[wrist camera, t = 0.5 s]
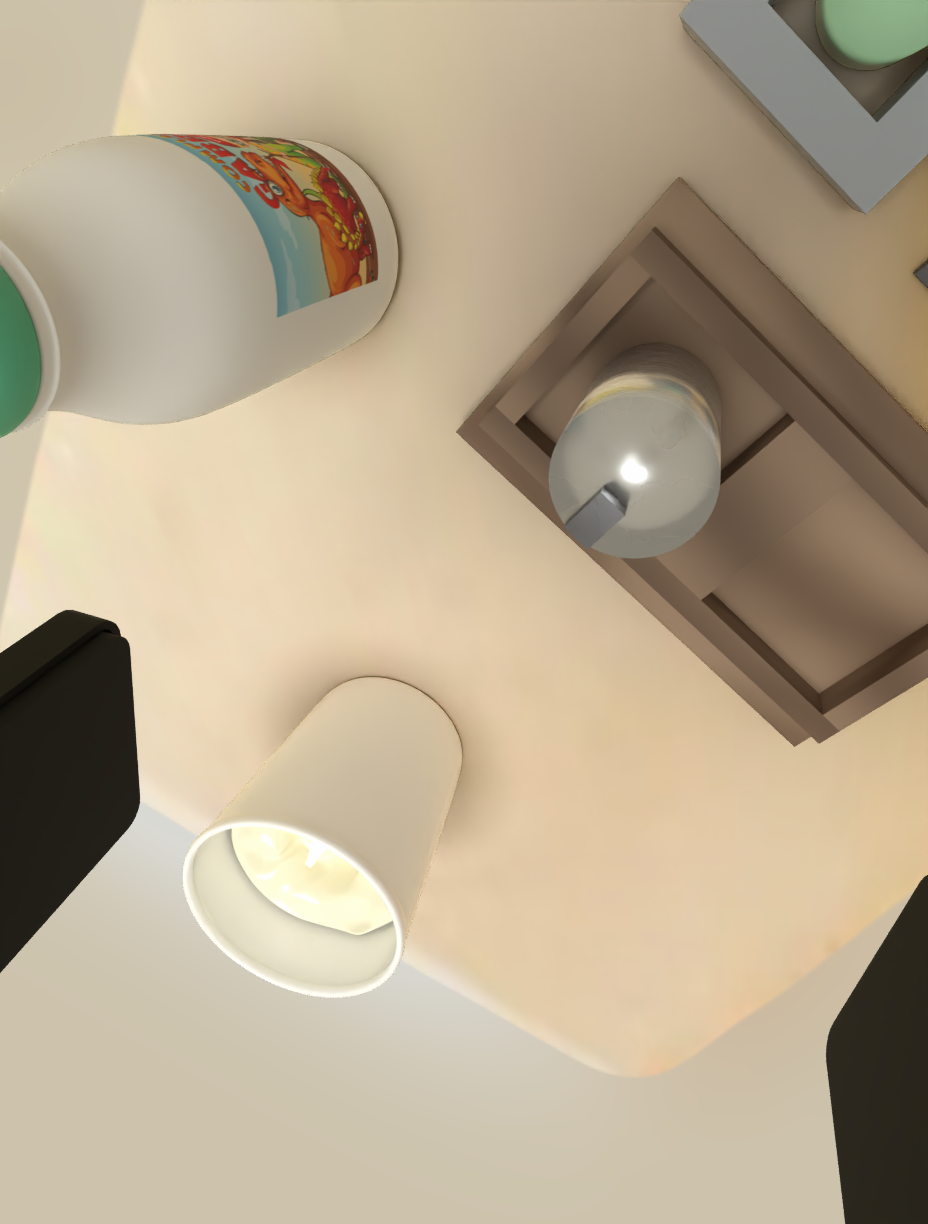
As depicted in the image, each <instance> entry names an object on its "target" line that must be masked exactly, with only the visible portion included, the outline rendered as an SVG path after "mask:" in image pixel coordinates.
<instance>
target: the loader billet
mask: <svg viewBox="0 0 928 1224" xmlns="http://www.w3.org/2000/svg"><path fill="white" fill-rule="evenodd" d="M720 474H721V398H720V392H719V388H718V385H717V383H716V380H715V378H714V376H713V375H712V373H711V371H710V370H709V368H708V367H707V366H706V365H705V364H704V363H703V362H702V361H701V360H700V359H699V358H698V357H697V356H695V355H694V354H692V353H691V352H689V351H687V350H685V349H683V348H681V347H678V346H674V345H671V344H665V343H647V344H641V345H637V346H634V347H631V348H628V349H626V350H624V351H622V352H620V353H618V354H617V355H616V356H614V357H613V358H611V359H610V360H609V361H608V362H607V363H606V364H605V365H604V366H603V367H602V368H601V370H600V371H599V372H598V374H597V375H596V377H595V378H594V380H593V382H592V383H591V385H590V387H589V388H588V390H587V392H586V394H585V395H584V397H583V399H582V400H581V402H580V404H579V406H578V407H577V409H576V411H575V412H574V414H573V416H572V418H571V419H570V421H569V423H568V424H567V426H566V428H565V430H564V431H563V433H562V435H561V436H560V438H559V440H558V442H557V444H556V446H555V448H554V451H553V454H552V457H551V461H550V467H549V489H550V494H551V498H552V502H553V504H554V507H555V509H556V512H557V513H558V515H559V517H560V519H561V520H562V522H563V523H564V524H565V526H564V528H565V529H566V530H567V531H568V532H569V533H570V534H571V535H572V536H573V537H574V538H575V539H577V540H578V541H579V542H580V543H581V544H582V545H583V546H584V547H585V548H586V549H587V550H588V549H589V548H590V547H591V548H593V549H595V550H597V551H599V552H602V553H605V554H608V555H611V556H616V557H621V558H631V559H633V558H647V557H654V556H657V555H661V554H664V553H667V552H669V551H672V550H674V549H676V548H677V547H679V546H681V545H683V544H684V543H686V542H687V541H688V540H690V539H691V538H692V537H693V536H694V535H695V534H696V533H697V532H698V531H699V530H700V529H701V528H702V527H703V526H704V524H705V523H706V522H707V520H708V518H709V517H710V515H711V513H712V511H713V509H714V507H715V504H716V502H717V498H718V494H719V489H720Z"/></svg>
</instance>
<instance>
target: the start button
mask: <svg viewBox="0 0 928 1224" xmlns="http://www.w3.org/2000/svg"><path fill="white" fill-rule="evenodd" d="M815 21H816V28H817V33H818V36H819V39H820V41H821V43H822V45H823V47H824V49H825V50H826V51H827V53H828V54H829V55H830V56H831V57H832V58H833V59H834V60H835V61H837V62H838V63H840V64H841V65H844V66H846V67H848V68H852V69H856V70H876V69H881V68H884V67H887V66H890V65H892V64H895V63H897V62H899V61H901V60H902V59H904V58H906V57H908V56H910V55H912V54H913V53H915V52H917V51H919V50H921V49H923V48H924V47H926V46H928V0H816V6H815Z"/></svg>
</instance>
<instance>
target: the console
mask: <svg viewBox="0 0 928 1224" xmlns="http://www.w3.org/2000/svg"><path fill="white" fill-rule="evenodd" d="M777 1H778V0H691V1H690V3H689V4H688V5H687V6H686V8H685V9H684V10H683V12H682V13H681V14H680V18H681V21H682V24H683V28H684V29H685V30H686V32H687V33H688V34H689V35H690V36H691V37H692V38H693V39H694V40H695V41H696V42H697V43H698V44H699V45H700V46H701V48H702V49H703V50H704V51H705V52H706V53H707V54H708V55H709V56H710V57H711V58H712V59H713V60H714V61H715V62H716V63H717V65H718V66H719V67H720V68H721V69H722V70H723V71H724V72H725V73H726V74H727V75H728V76H729V77H730V78H731V79H732V81H733V82H734V83H735V84H736V85H737V86H738V87H739V88H740V89H741V90H742V91H743V92H744V93H745V94H746V95H747V97H748V98H749V99H750V100H751V101H752V102H753V103H754V104H755V105H756V106H757V107H758V108H759V109H760V110H761V111H762V113H763V114H764V115H765V116H766V117H767V118H768V119H769V120H770V121H771V122H772V123H773V124H774V125H775V126H776V127H777V128H778V130H779V131H780V132H781V133H782V134H783V135H784V136H785V137H786V138H787V139H788V140H789V141H790V142H791V143H792V144H793V146H794V147H795V148H796V149H797V150H798V151H799V152H800V153H801V154H802V155H803V156H804V157H805V158H806V159H807V160H808V162H809V163H810V164H811V165H812V166H813V167H814V168H815V169H816V170H817V171H818V172H819V173H820V174H821V175H822V176H823V177H824V179H825V180H826V181H827V182H828V183H829V184H830V185H831V186H832V187H833V188H834V189H835V190H836V191H837V192H838V193H839V195H840V196H841V197H842V198H843V199H844V200H845V201H846V202H847V203H848V204H849V205H850V206H851V207H852V208H853V209H854V210H857V211H859V212H862V213H864V214H867V213H868V212H869V211H870V210H871V209H872V208H873V207H874V206H875V205H876V204H877V203H878V202H879V201H880V200H881V199H882V198H883V197H884V196H885V195H886V194H887V193H888V192H889V191H890V190H891V189H892V188H894V187H895V186H896V185H897V184H898V183H899V182H900V181H901V180H902V179H903V178H904V177H905V176H906V175H907V174H908V173H909V172H910V171H911V170H912V169H913V168H914V167H915V166H916V165H917V164H918V163H919V162H920V161H921V160H923V159H924V158H925V157H926V156H927V155H928V59H927V60H926V61H925V62H924V63H923V64H922V65H921V66H920V67H919V68H918V69H917V70H916V71H915V72H914V73H913V74H912V75H911V77H910V78H909V79H908V80H907V81H906V82H905V83H904V84H903V85H902V86H901V87H900V88H899V89H898V90H897V91H896V92H895V93H894V94H893V95H892V96H891V97H890V98H889V99H888V100H887V101H886V102H885V103H884V104H883V105H882V106H881V107H880V108H879V109H878V111H877V112H876V113H875V114H874V115H873V116H872V117H871V115H870V114H869V113H868V112H867V111H866V110H865V109H864V108H863V107H862V106H861V105H860V103H859V102H858V101H857V100H856V99H855V98H854V97H853V96H852V95H851V94H850V93H849V91H848V90H847V89H846V88H845V87H844V86H843V85H842V84H841V83H840V82H839V81H838V79H837V78H836V77H835V76H834V75H833V74H832V73H831V72H830V71H829V70H828V69H827V67H826V66H825V65H824V64H823V63H822V62H821V61H820V60H819V59H818V58H817V56H816V55H815V54H814V53H813V52H812V51H811V50H810V49H809V48H808V47H807V46H806V44H805V43H804V42H803V41H802V40H801V39H800V38H799V37H798V36H797V35H796V34H795V32H794V31H793V30H792V29H791V28H790V27H789V26H788V25H787V24H786V23H785V22H784V20H783V19H782V18H781V17H780V16H779V15H778V14H777V13H776V12H775V11H774V10H773V8H772V7H773V5H774V4H775V3H776V2H777Z"/></svg>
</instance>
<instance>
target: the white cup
mask: <svg viewBox="0 0 928 1224" xmlns="http://www.w3.org/2000/svg"><path fill="white" fill-rule="evenodd" d="M461 767H462V747H461V742H460V739H459V736H458V733H457V731H456V729H455V727H454V725H453V723H452V721H451V720H450V718H449V717H448V716H447V714H446V713H445V712H444V711H443V710H442V708H441V707H440V706H439V705H438V704H437V703H435V702H434V701H433V700H432V699H431V698H429V697H428V696H427V695H425V694H424V693H422V692H421V691H419V690H417V689H415V688H414V687H412V686H409V685H407V684H405V683H402V682H399V681H396V680H392V679H387V678H380V677H364V678H357V679H353V680H350V681H347V682H345V683H342V684H340V685H339V686H337V687H335V688H334V689H332V690H331V691H330V692H329V693H328V694H327V695H325V696H324V697H323V698H322V699H321V701H320V702H319V703H318V704H317V705H316V706H315V707H314V708H313V709H312V710H311V711H310V713H309V714H308V715H307V716H306V717H305V718H304V719H303V720H302V721H301V723H300V724H299V725H298V726H297V727H296V728H295V729H294V731H293V732H292V733H291V734H290V735H289V736H288V737H287V738H286V740H285V741H284V742H283V743H282V744H281V745H280V746H279V748H278V749H277V750H276V751H275V752H274V753H273V754H272V756H271V757H270V758H269V759H268V760H267V761H266V762H265V764H264V765H263V766H262V767H261V768H260V769H259V770H258V772H257V773H256V774H255V775H254V776H253V777H252V778H251V780H250V781H249V782H248V783H247V784H246V785H245V786H244V787H243V789H242V790H241V791H240V792H239V793H238V794H237V795H236V797H235V798H234V799H233V800H232V801H231V802H230V803H229V805H228V806H227V807H226V808H225V809H224V810H223V811H222V813H221V814H220V815H219V816H218V817H217V818H216V819H215V820H214V822H213V823H212V824H211V825H210V826H209V827H208V828H207V829H206V830H204V831H203V832H202V833H201V834H200V835H199V836H198V837H197V838H196V839H195V841H194V842H193V843H192V845H191V847H190V848H189V850H188V852H187V854H186V857H185V860H184V864H183V871H182V880H183V888H184V892H185V896H186V899H187V902H188V905H189V907H190V909H191V911H192V913H193V915H194V917H195V919H196V920H197V922H198V923H199V925H200V926H201V928H202V929H203V931H204V932H205V933H206V934H207V935H208V937H209V938H210V939H211V940H212V941H213V942H214V943H215V944H216V945H217V946H218V947H219V948H220V949H221V950H222V951H223V952H224V953H225V954H226V955H228V956H229V957H230V958H231V959H232V960H234V961H235V962H236V963H238V964H239V965H240V966H242V967H243V968H245V969H247V970H248V971H249V972H251V973H253V974H254V975H256V976H258V977H260V978H262V979H264V980H266V981H268V982H270V983H272V984H274V985H277V986H279V987H282V988H285V989H288V990H291V991H294V992H297V993H301V994H306V995H311V996H317V997H328V998H329V997H330V998H340V997H350V996H355V995H359V994H363V993H366V992H368V991H371V990H373V989H375V988H377V987H378V986H380V985H382V984H383V983H384V982H385V981H386V980H388V979H389V978H390V977H391V975H392V974H393V973H394V971H395V970H396V969H397V967H398V965H399V963H400V961H401V959H402V956H403V952H404V948H405V942H406V938H407V935H408V932H409V929H410V926H411V923H412V920H413V917H414V914H415V911H416V908H417V905H418V902H419V899H420V896H421V893H422V889H423V886H424V883H425V880H426V877H427V874H428V871H429V868H430V865H431V862H432V859H433V856H434V853H435V850H436V847H437V844H438V841H439V838H440V835H441V832H442V829H443V826H444V823H445V820H446V817H447V814H448V811H449V808H450V805H451V802H452V799H453V796H454V792H455V789H456V786H457V783H458V779H459V776H460V772H461Z"/></svg>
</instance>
